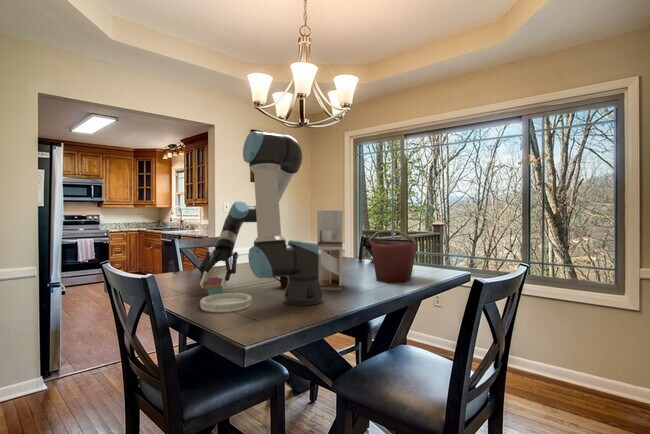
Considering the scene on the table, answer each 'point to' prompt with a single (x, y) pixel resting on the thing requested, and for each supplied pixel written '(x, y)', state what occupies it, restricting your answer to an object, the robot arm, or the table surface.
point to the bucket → (393, 259)
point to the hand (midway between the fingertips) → (212, 286)
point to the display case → (330, 247)
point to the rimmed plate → (225, 302)
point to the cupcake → (214, 285)
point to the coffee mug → (283, 281)
